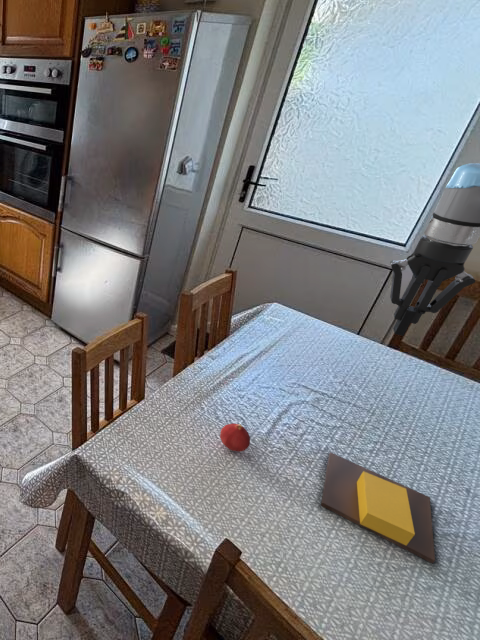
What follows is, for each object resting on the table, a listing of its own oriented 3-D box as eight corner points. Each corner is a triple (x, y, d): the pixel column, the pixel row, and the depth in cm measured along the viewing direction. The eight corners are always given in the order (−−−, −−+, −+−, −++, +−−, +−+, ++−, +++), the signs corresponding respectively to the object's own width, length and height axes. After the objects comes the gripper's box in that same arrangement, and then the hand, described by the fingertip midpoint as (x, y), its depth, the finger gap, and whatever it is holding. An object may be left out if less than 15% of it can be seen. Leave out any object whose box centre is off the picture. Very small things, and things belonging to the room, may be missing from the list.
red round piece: (218, 434, 100) (226, 410, 97) (246, 445, 97) (255, 421, 93) (215, 451, 96) (223, 426, 92) (244, 463, 93) (254, 439, 89)
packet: (406, 488, 82) (415, 534, 74) (398, 499, 84) (406, 545, 76) (363, 470, 86) (367, 512, 78) (356, 482, 87) (360, 524, 80)
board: (427, 500, 84) (429, 497, 84) (432, 564, 74) (435, 560, 74) (328, 454, 94) (330, 451, 94) (320, 505, 84) (322, 502, 83)
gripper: (489, 241, 84) (434, 334, 95) (402, 227, 92) (360, 315, 102) (500, 253, 79) (441, 351, 89) (407, 238, 86) (362, 330, 97)
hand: (398, 332), depth 96 cm, fingers closed
